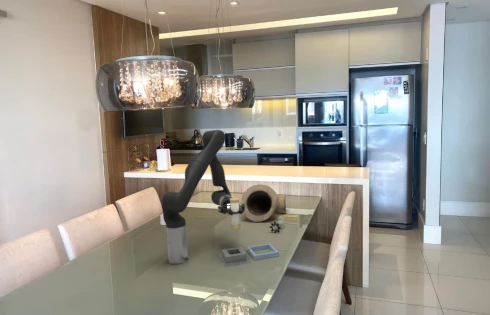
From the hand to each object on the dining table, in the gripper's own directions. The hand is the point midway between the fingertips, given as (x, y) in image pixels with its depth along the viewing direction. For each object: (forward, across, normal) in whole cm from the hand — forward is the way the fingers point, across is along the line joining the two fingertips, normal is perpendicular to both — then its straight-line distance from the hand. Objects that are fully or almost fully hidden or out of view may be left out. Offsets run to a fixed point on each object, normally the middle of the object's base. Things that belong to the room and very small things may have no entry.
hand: (236, 212), depth 168 cm
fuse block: (-2, -2, +24) cm, 24 cm away
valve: (-36, +33, +24) cm, 54 cm away
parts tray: (-2, +12, +24) cm, 27 cm away
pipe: (-67, +35, +24) cm, 79 cm away
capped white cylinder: (-3, 0, +8) cm, 8 cm away
